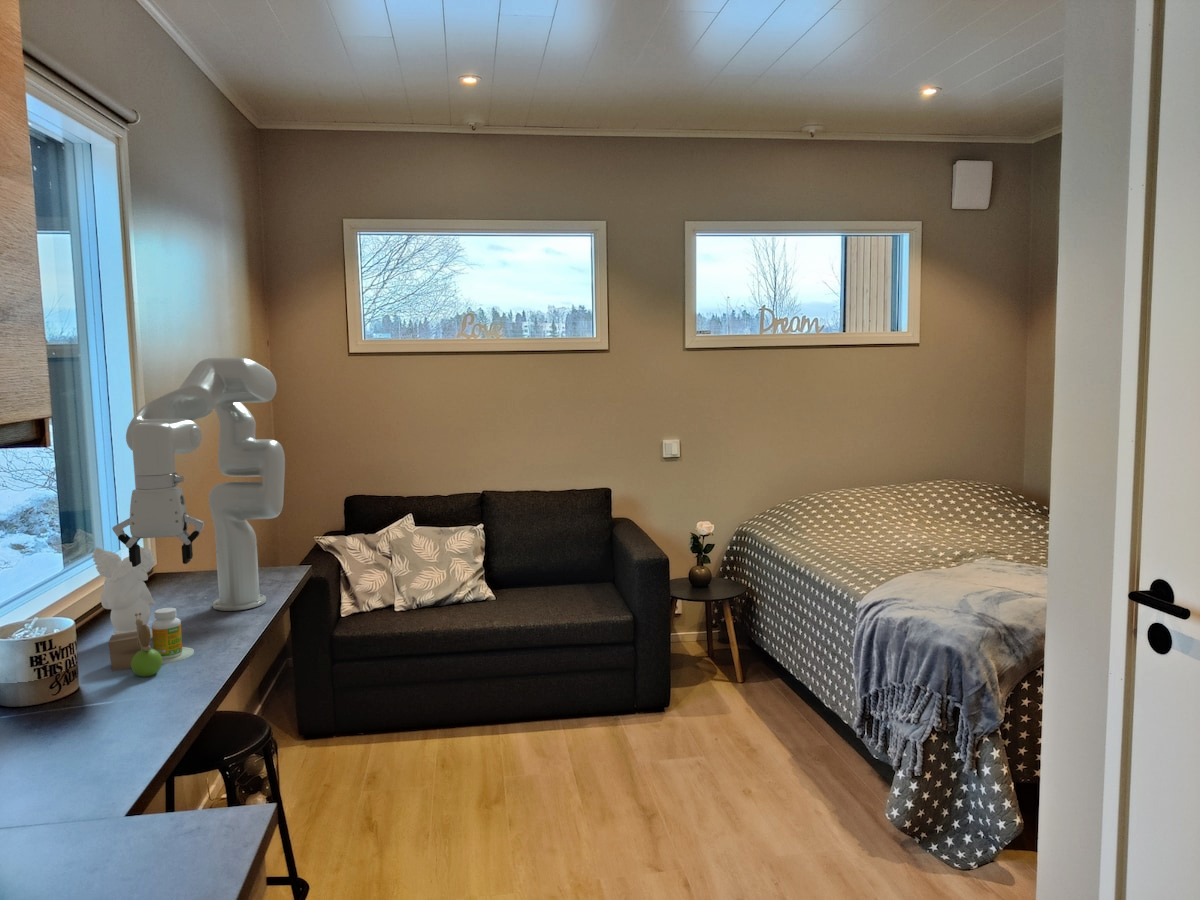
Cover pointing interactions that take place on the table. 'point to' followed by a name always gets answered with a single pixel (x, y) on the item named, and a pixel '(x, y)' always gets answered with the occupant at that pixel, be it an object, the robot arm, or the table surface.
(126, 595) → the cherub figurine
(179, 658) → the felt coaster
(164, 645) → the supplement bottle
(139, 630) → the snail figurine
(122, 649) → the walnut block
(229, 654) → the table surface
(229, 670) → the table surface
